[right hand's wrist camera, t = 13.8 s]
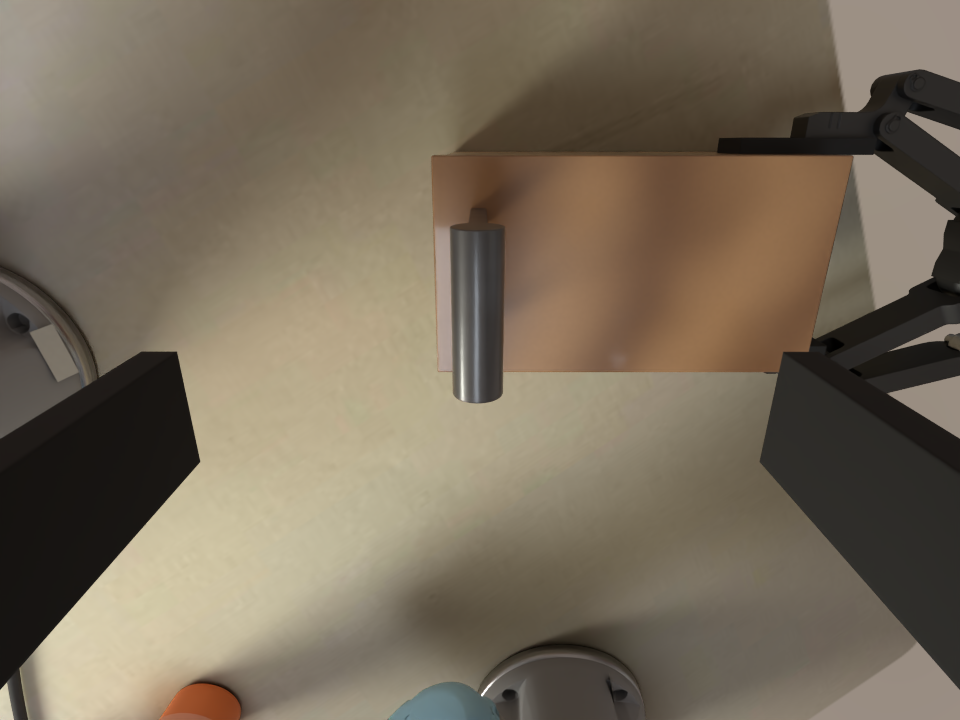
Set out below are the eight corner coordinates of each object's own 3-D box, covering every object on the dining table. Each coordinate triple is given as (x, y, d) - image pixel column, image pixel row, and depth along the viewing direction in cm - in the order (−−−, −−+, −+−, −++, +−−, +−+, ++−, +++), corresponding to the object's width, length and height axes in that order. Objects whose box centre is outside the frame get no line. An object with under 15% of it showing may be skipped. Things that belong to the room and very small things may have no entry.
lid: (439, 362, 28) (422, 454, 20) (433, 154, 25) (409, 160, 16) (791, 363, 28) (920, 454, 20) (836, 154, 25) (1018, 160, 16)
